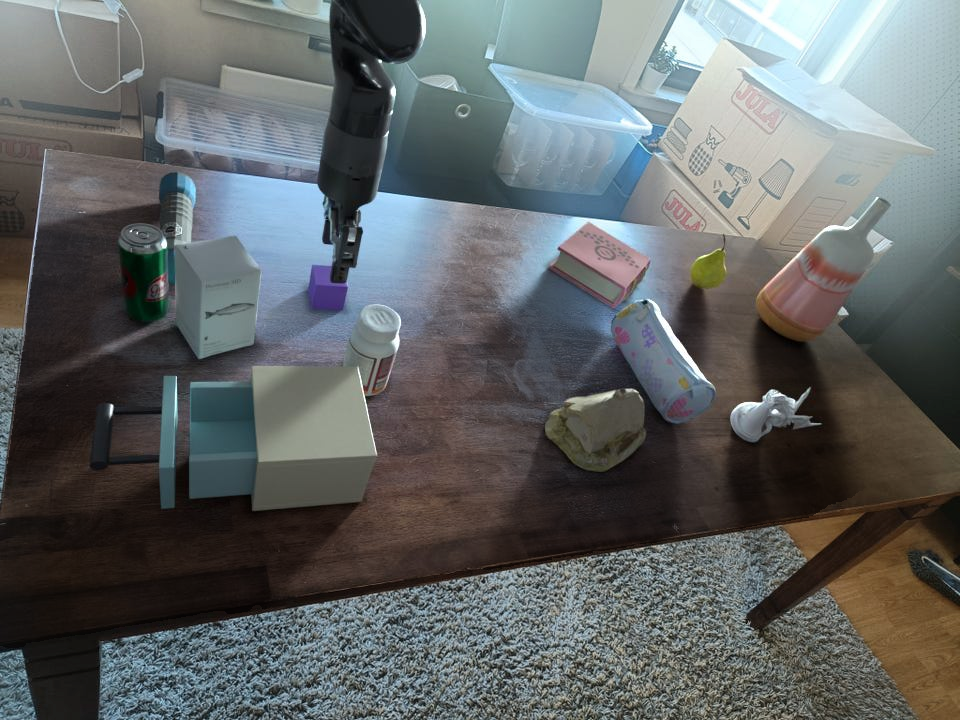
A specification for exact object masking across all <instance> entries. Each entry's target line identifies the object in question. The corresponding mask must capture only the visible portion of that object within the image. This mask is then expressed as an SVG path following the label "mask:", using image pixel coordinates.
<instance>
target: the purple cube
mask: <svg viewBox="0 0 960 720" xmlns="http://www.w3.org/2000/svg"><path fill="white" fill-rule="evenodd" d="M331 267H332V265H322V264H312V265H311V269H310V275H309V280H308V281H309V282H308V295H309V303H310V307H311V310H324V311H325V310H329V311H343V310H344V307H345V303H346V299H347V294H348V288H349V283H348V281H347V282H346V283H344V284H340V283H331V281H330V272H331Z"/></svg>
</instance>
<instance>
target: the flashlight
mask: <svg viewBox="0 0 960 720" xmlns="http://www.w3.org/2000/svg"><path fill="white" fill-rule="evenodd" d="M196 192H197V188H196V184H195V182H194V181H193V179H192V178H191V177H190V176H188V175H187V174H185V173H182V172H178V171H172V172H169V173H166V174H164V175H163V177H161V179H160V183H159V190H158V201H159V204H160V211H159V213H160V214H159V222H158V225H159V229H160V230H161V231H162V232H163V235H164V237H165V238H166V240H167V251H168V285H169V286H175V245H176V244H183V243H190V242H192V229H193V222H194V220H193V216H194V214H193V212H194V211H193V210H194V208H195V204H196V199H197V198H196V195H197V193H196Z"/></svg>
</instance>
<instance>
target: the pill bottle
mask: <svg viewBox="0 0 960 720" xmlns="http://www.w3.org/2000/svg"><path fill="white" fill-rule="evenodd" d="M401 324H402V321H401V317H400V315H399V313H397V312H396V311H395V310H394V309H392V308H391V307H389V306H386V305H383V304H378V303H377V304H374V303H373V304H368V305H366V306H364V307H362V308H361V309H360V311H359V313H358V316H357V320H356V323H355V324H354V326H353V327H352V328H351V330H350V333H349V337H348V342H347V345H346V349H345V354H344V359H343V364H342V367H358V369H359V374H360V379H361V383H362V388H363V393H364V397H371V396H377V395H378V394H380V393H382V392H383V391H384V389H386V387H387V384H388V382H389V378H390V376H391V373H392V372H391V371H392V369H393V366H394V362H395V359H396V356H397V352H398V349H399V346H400V336H399V332H400V328H401Z"/></svg>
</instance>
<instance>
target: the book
mask: <svg viewBox="0 0 960 720" xmlns="http://www.w3.org/2000/svg"><path fill="white" fill-rule="evenodd" d="M556 250H557V251H559V254H558V257H557V258H556V259H555V260H554V261H552V262H551V263H550V264H549V265H548V267H547V268H548V269H549V270H551V271H552V272H554V273H555V274H557V275H559V276H560V277H562V278H563V279H565V280H567V281H569V282H570V283H571V284H573V285H574V286H576V287H578V288H580V289H581V290H583V291H585V292H586V293H588V294H590V295H591V296H592V297H594V298H596V299H597V300H599V301H600V302H602V303H603V304H605V305H607V306H608V307H610V308H612V309H613V310H614V309H616V308H617V307H618V306H619V304H621V303H622V302H624V301H625V300H626V299H628V298H629V297H630V296H631V294H632V292H633V291H634V289H635V288H636V287H637V286H638V285H640V283H641V282H642V281H643V279H644V277H645V276H646V273H647V271H648V269H649V267H650V264H651V260H652V259H651V258H650V257H648V256H646V255H645V254H643V253H642V252H641V251H639V250H636V249H635V248H633V246H632V247H631V246H630V245H628V244H626V243H625V242H623V241H622V240H620V239H618V238H617V237H615V236H613V235H612V234H610V233H608V232H606V231H605V230H603V229H602V228H600V227H598V226H597V225H595V224H593V223H592V222H590V221H587V222H586V223H584V225H582V226H581V227H579V229H577V230H575V232H573V234H571V235H570V236H569V237H568V238H567V239H565V240H564V241H563V242H562V243H560V244H559V245H558V247H557V248H556Z"/></svg>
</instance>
